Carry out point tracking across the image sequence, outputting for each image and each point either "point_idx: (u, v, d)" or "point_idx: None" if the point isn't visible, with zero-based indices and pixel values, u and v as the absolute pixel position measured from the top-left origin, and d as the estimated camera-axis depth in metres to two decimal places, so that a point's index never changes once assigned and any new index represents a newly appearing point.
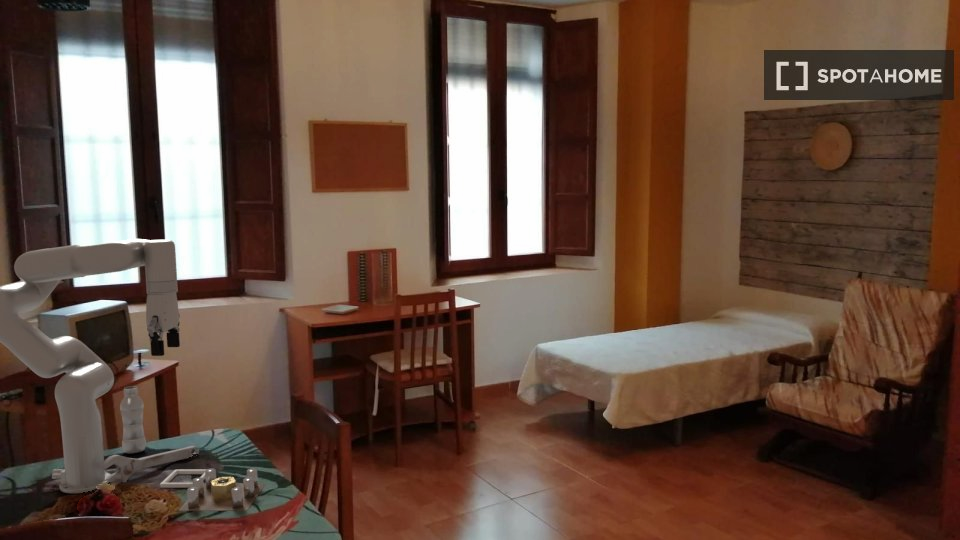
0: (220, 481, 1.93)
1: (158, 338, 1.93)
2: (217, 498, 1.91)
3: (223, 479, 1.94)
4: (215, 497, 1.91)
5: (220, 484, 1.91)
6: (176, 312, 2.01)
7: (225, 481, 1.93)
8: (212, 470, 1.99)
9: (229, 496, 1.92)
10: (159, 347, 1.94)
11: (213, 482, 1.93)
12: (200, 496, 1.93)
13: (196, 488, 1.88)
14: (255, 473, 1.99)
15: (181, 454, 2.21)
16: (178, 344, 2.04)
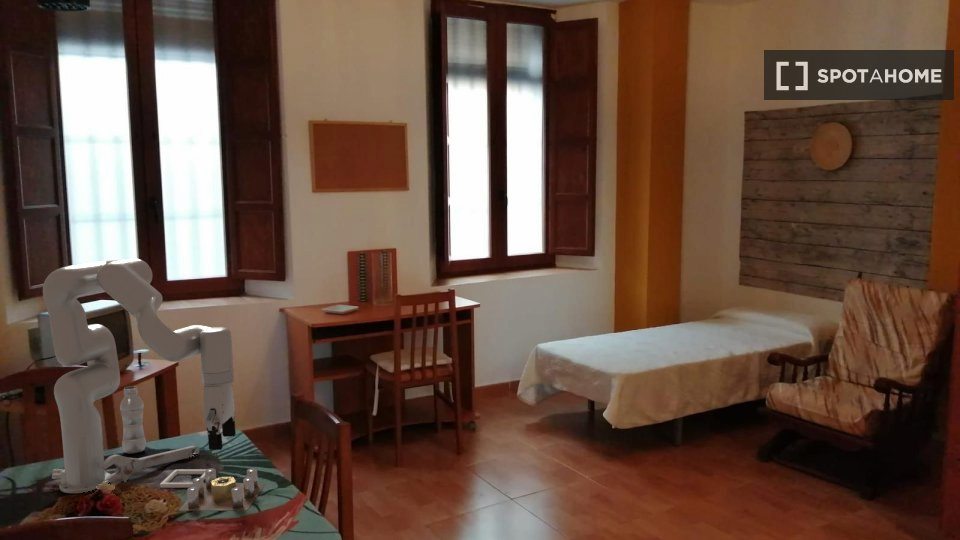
0: (220, 481, 1.93)
1: (216, 432, 1.85)
2: (217, 498, 1.91)
3: (223, 479, 1.94)
4: (215, 497, 1.91)
5: (220, 484, 1.91)
6: (232, 401, 1.93)
7: (225, 481, 1.93)
8: (212, 470, 1.99)
9: (229, 496, 1.92)
10: (217, 441, 1.86)
11: (213, 482, 1.93)
12: (200, 496, 1.93)
13: (196, 488, 1.88)
14: (255, 473, 1.99)
15: (181, 453, 2.21)
16: (234, 433, 1.96)
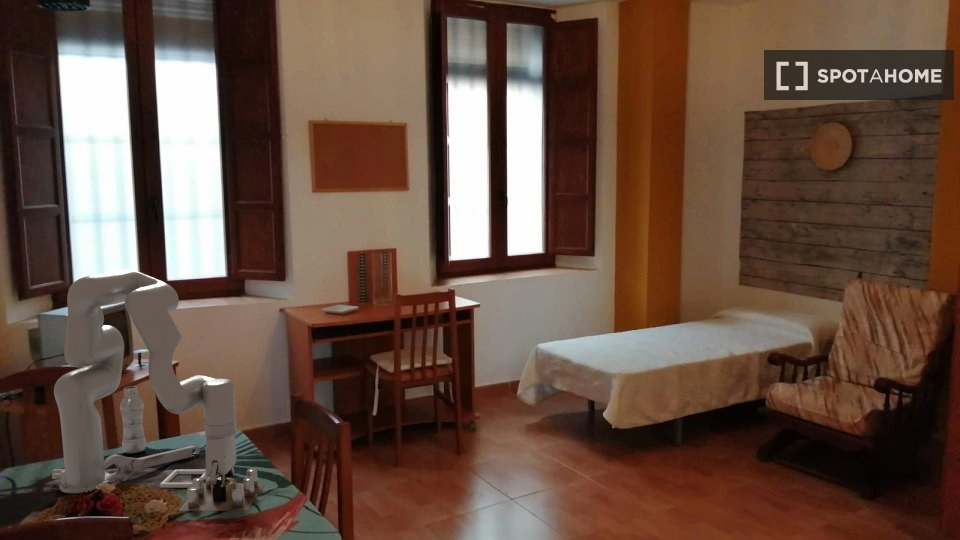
0: None
1: (221, 486, 1.89)
2: None
3: None
4: None
5: None
6: (234, 451, 1.95)
7: (225, 481, 1.93)
8: None
9: (229, 496, 1.92)
10: (221, 493, 1.90)
11: None
12: (200, 496, 1.93)
13: (196, 488, 1.88)
14: (255, 473, 1.99)
15: (181, 453, 2.21)
16: None
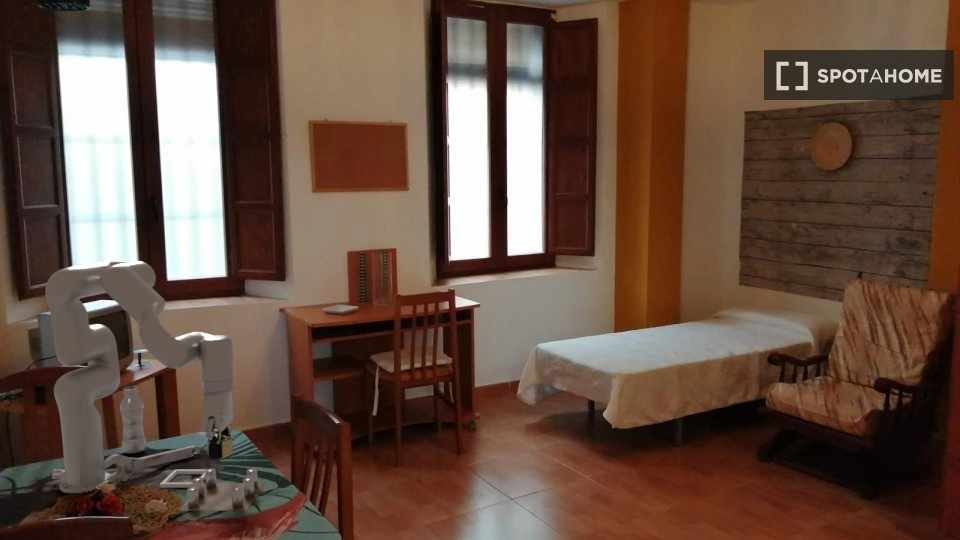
0: None
1: (217, 442, 1.87)
2: None
3: None
4: None
5: None
6: (231, 409, 1.94)
7: (221, 439, 1.92)
8: (212, 470, 1.99)
9: (225, 454, 1.91)
10: (217, 450, 1.88)
11: None
12: (200, 496, 1.93)
13: (196, 488, 1.88)
14: (255, 473, 1.99)
15: (182, 453, 2.21)
16: None
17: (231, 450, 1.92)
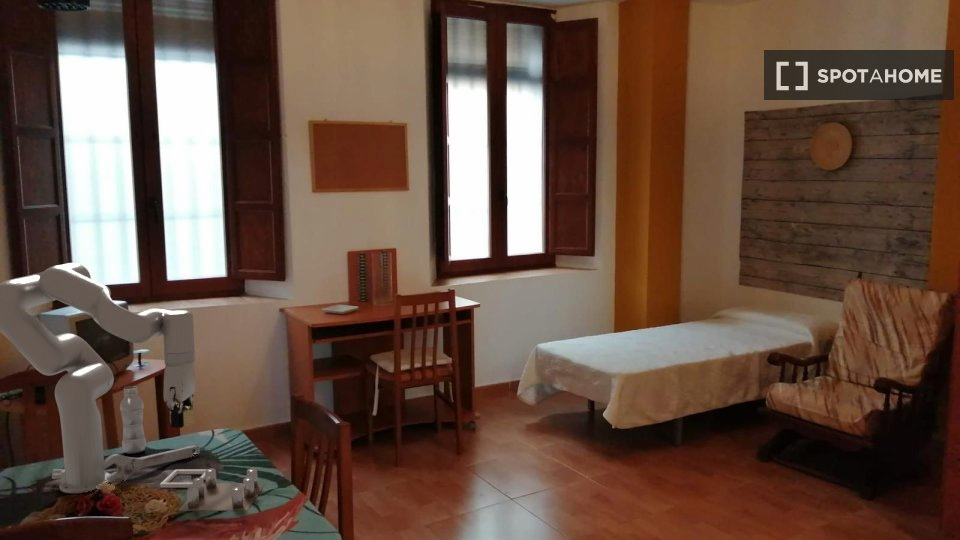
0: None
1: (178, 412, 1.97)
2: None
3: (182, 407, 2.03)
4: None
5: None
6: (193, 381, 2.03)
7: (183, 409, 2.01)
8: (212, 470, 1.99)
9: (187, 423, 2.00)
10: (179, 419, 1.98)
11: None
12: (200, 496, 1.93)
13: (196, 488, 1.88)
14: (255, 473, 1.99)
15: (182, 453, 2.21)
16: None
17: (192, 420, 2.02)
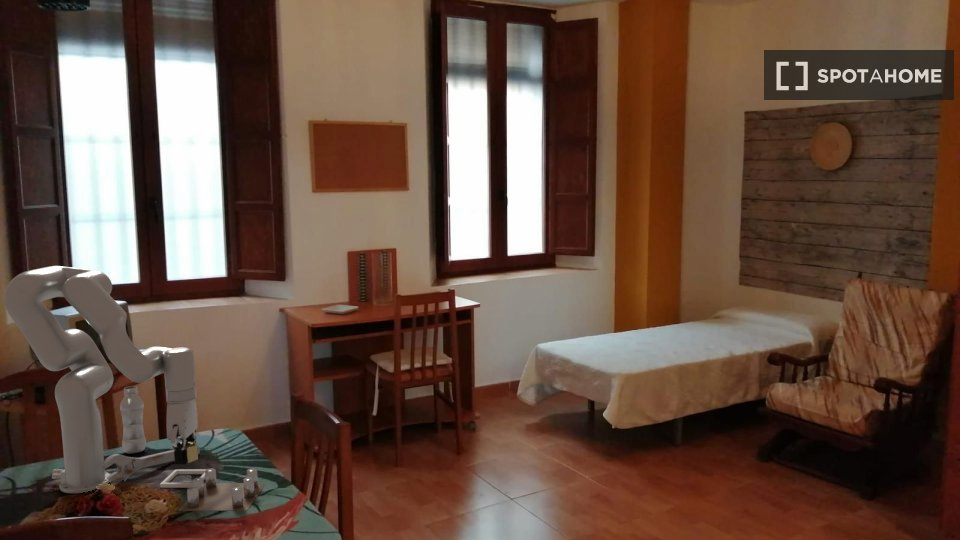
0: None
1: (181, 449, 1.99)
2: None
3: (185, 443, 2.04)
4: None
5: None
6: (195, 417, 2.05)
7: (187, 445, 2.03)
8: (212, 470, 1.99)
9: (190, 459, 2.02)
10: (182, 456, 2.00)
11: None
12: (200, 496, 1.93)
13: (196, 488, 1.88)
14: (255, 473, 1.99)
15: None
16: None
17: (196, 455, 2.03)
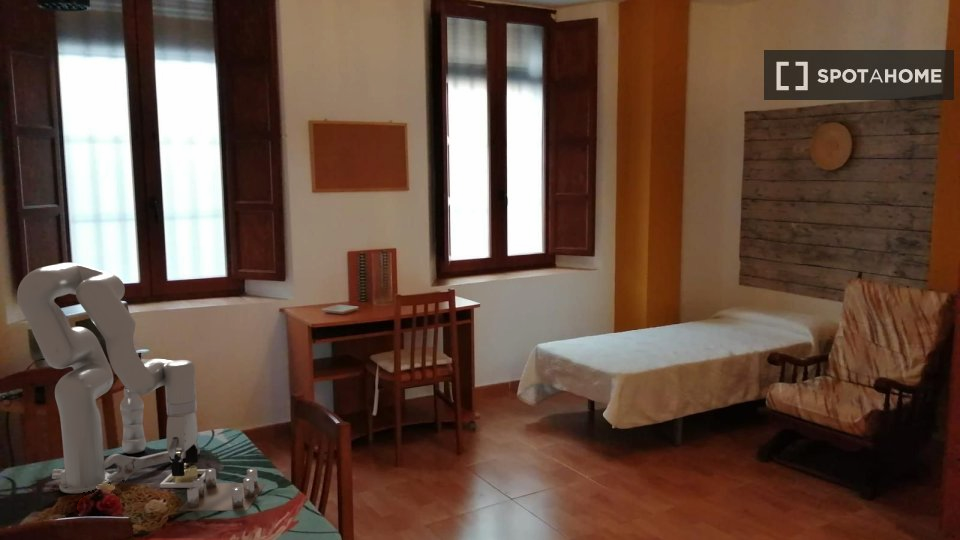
0: None
1: (179, 460, 1.98)
2: None
3: (185, 465, 2.05)
4: (177, 482, 2.02)
5: None
6: (195, 429, 2.05)
7: (187, 467, 2.04)
8: (212, 470, 1.99)
9: (190, 481, 2.02)
10: (180, 468, 1.99)
11: None
12: (200, 496, 1.93)
13: (196, 488, 1.88)
14: (255, 473, 1.99)
15: None
16: (196, 460, 2.08)
17: None
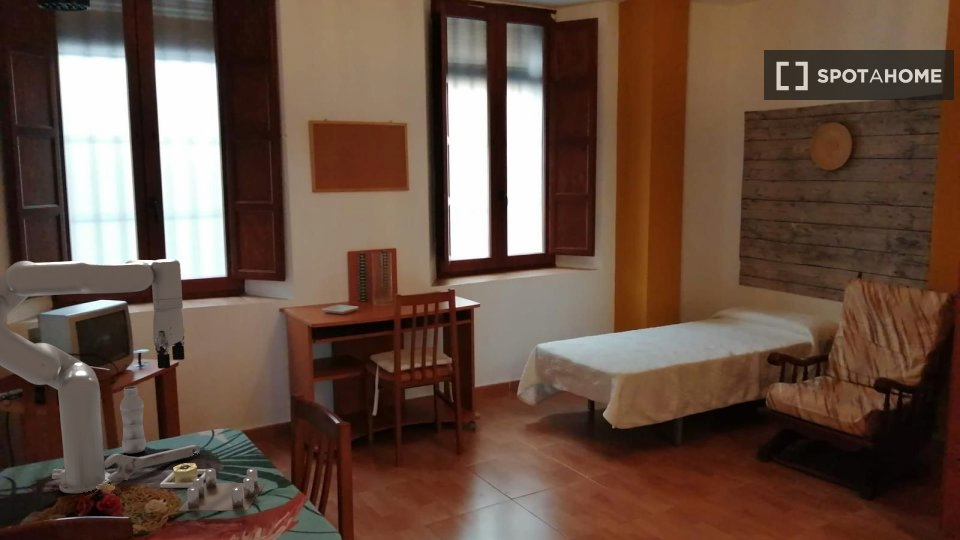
0: (181, 467, 2.04)
1: (164, 352, 2.06)
2: None
3: (185, 465, 2.05)
4: (177, 482, 2.02)
5: (182, 470, 2.02)
6: (181, 327, 2.14)
7: (187, 467, 2.04)
8: (212, 470, 1.99)
9: (190, 481, 2.02)
10: (165, 360, 2.07)
11: (175, 468, 2.03)
12: (200, 496, 1.93)
13: (196, 488, 1.88)
14: (255, 473, 1.99)
15: (182, 452, 2.22)
16: (183, 357, 2.17)
17: None
